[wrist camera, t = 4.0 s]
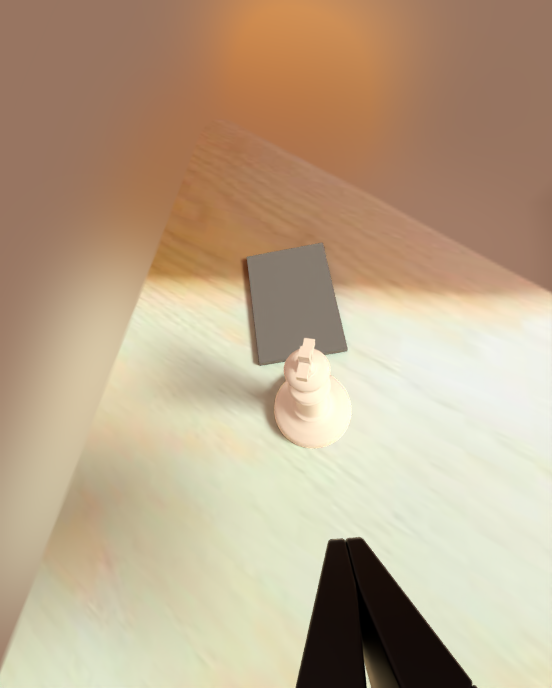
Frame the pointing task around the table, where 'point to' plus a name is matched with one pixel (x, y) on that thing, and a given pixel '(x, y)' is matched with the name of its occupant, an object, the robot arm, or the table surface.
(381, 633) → the robot arm
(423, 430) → the table surface
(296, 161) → the table surface
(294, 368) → the chess piece
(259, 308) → the slate mat
